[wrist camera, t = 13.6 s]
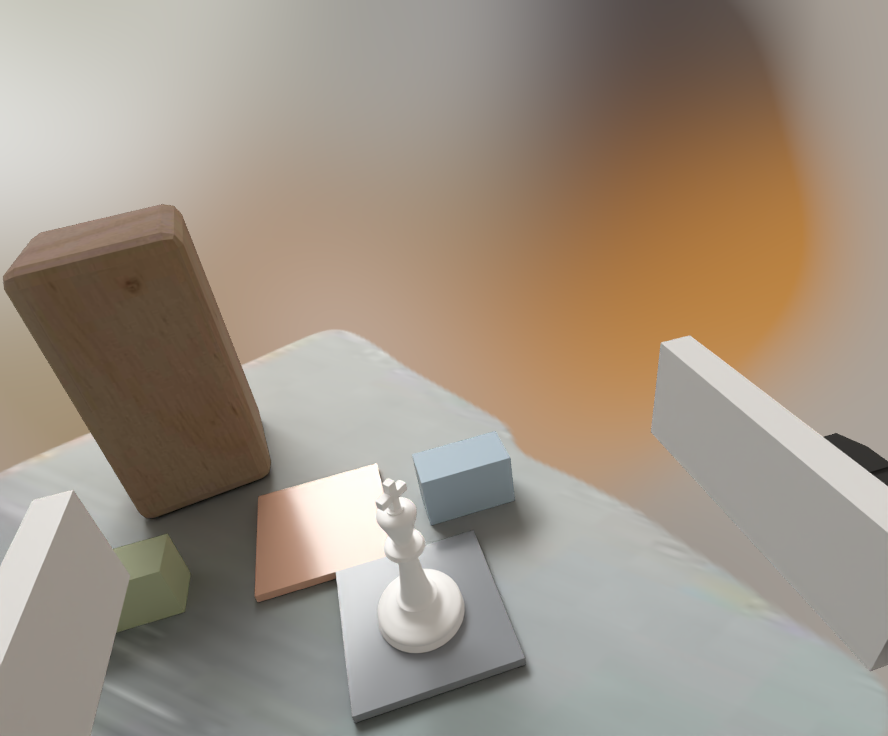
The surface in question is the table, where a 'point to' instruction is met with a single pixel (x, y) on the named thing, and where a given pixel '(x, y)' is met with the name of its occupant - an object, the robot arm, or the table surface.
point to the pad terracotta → (317, 531)
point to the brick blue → (464, 477)
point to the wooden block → (143, 355)
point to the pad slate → (430, 673)
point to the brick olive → (152, 581)
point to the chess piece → (413, 582)
